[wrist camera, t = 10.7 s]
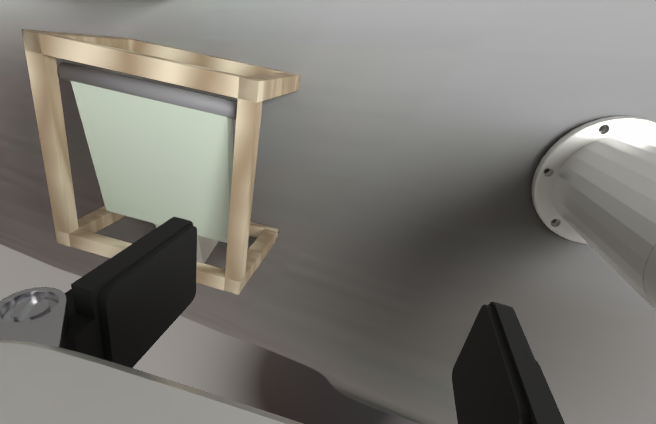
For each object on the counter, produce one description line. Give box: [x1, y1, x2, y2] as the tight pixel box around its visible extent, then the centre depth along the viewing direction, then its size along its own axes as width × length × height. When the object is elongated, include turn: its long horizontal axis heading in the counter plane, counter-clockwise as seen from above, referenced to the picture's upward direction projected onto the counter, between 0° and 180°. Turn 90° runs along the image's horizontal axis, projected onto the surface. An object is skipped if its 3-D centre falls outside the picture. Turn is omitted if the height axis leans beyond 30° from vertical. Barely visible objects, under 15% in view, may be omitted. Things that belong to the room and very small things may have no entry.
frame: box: [22, 29, 300, 295], centre depth 36 cm, size 20×20×12 cm
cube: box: [155, 224, 219, 263], centre depth 41 cm, size 5×5×6 cm
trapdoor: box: [58, 63, 237, 243], centre depth 33 cm, size 16×15×1 cm
